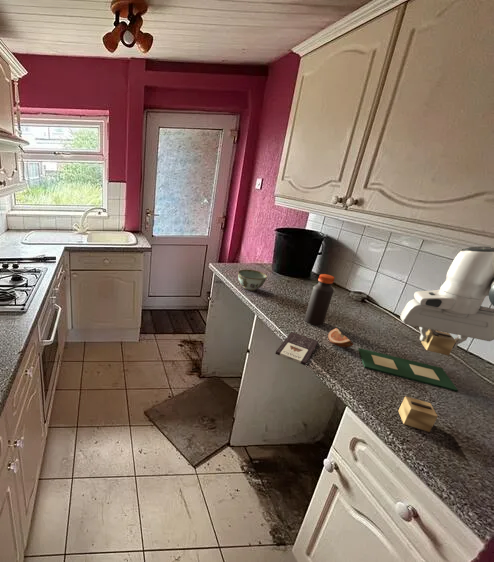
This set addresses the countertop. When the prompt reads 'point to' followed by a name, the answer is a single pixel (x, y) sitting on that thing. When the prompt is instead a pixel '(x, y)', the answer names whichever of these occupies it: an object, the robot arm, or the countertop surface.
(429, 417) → the light wooden cube
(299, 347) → the chocolate bar
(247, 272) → the bowl
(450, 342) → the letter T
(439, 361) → the countertop surface
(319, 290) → the bottle
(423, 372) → the word mat
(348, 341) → the fruit slice
